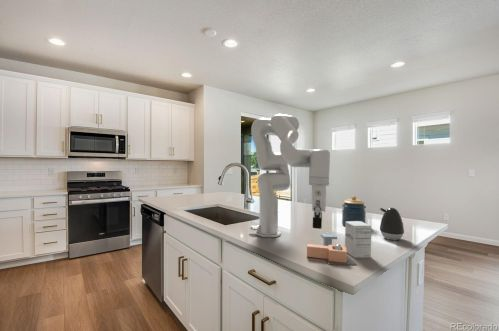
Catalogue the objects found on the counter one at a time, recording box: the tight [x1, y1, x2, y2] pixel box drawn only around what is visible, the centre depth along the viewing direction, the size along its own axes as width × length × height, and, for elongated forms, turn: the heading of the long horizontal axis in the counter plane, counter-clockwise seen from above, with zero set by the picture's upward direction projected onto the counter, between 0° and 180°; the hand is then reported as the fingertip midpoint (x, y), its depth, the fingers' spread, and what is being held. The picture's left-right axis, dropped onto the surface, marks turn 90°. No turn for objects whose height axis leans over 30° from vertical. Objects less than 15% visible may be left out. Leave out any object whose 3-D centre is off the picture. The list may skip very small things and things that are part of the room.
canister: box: [341, 195, 367, 227], centre depth 144 cm, size 13×13×18 cm
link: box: [306, 243, 348, 263], centre depth 95 cm, size 14×6×4 cm, turn 73°
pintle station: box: [324, 243, 357, 266], centre depth 93 cm, size 10×10×6 cm
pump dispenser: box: [379, 207, 405, 241], centre depth 120 cm, size 10×10×15 cm
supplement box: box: [344, 221, 372, 258], centre depth 99 cm, size 7×7×13 cm
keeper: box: [320, 232, 338, 246], centre depth 105 cm, size 6×6×6 cm
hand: (317, 224), depth 96 cm, fingers open, 9 cm apart
